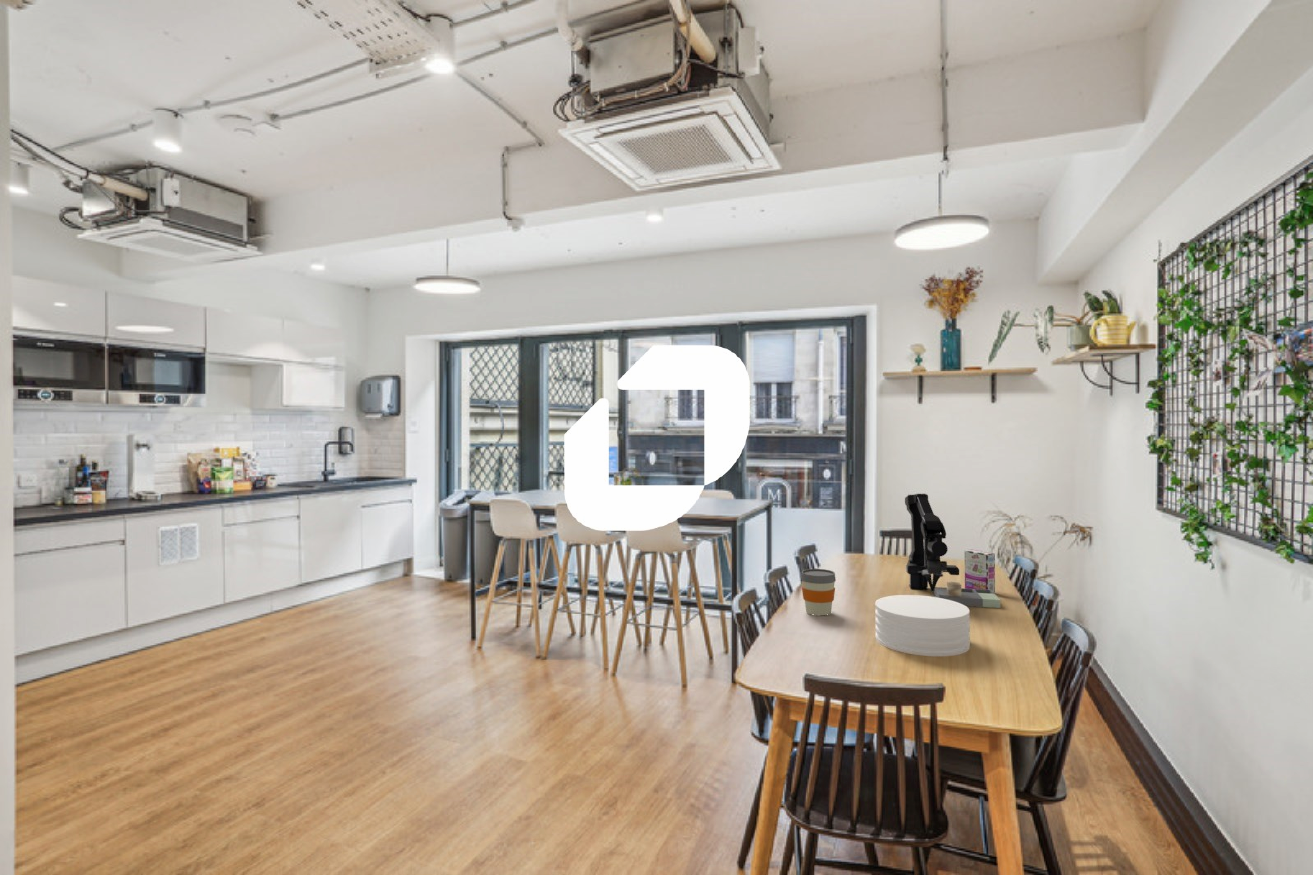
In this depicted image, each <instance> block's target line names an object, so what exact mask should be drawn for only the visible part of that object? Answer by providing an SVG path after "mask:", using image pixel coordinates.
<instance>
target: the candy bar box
mask: <svg viewBox="0 0 1313 875" xmlns="http://www.w3.org/2000/svg"><path fill="white" fill-rule="evenodd" d="M995 558H996V554H995V553H994V552H988V551H983V550H977V549H967V550H964V589H986V590H991V591H992V592H993V593H994V594H996V559H995Z"/></svg>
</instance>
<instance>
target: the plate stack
mask: <svg viewBox="0 0 1313 875" xmlns="http://www.w3.org/2000/svg"><path fill="white" fill-rule="evenodd" d="M874 605H875V606H874V607H875V611H874V613H875V614H874V616H875V618H874V619H875V620H874V622H875V628H874V629H875V640H876V641H877V643H878V644H879V645H882V646H884V647H886V648H888V649H891V650H893V651H897V652H901V653H905V654H910V655H914V656H915V655H916V656H926V657H952V656H959V655H962V654H964V653H966V652H968V651H969V650H970V649H971V642H970V640H971V639H970V638H971V636H970V635H971V634H970V632H971V629H970V628H971V627H970V623H971V622H970V621H971V620H970V613H971V612H970V608H969V606H965V605H963V604H960V603H958V602H955V601H951V600H947V599H943V598H937V597H935V596H929V595H928V596H927V595H918V594H898V595H897V594H896V595H889V596H888V595H887V596H884V597H880V598H878V599H877V600H876V601H874Z"/></svg>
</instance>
